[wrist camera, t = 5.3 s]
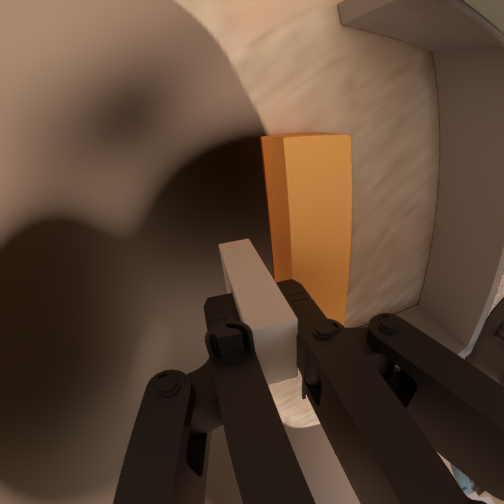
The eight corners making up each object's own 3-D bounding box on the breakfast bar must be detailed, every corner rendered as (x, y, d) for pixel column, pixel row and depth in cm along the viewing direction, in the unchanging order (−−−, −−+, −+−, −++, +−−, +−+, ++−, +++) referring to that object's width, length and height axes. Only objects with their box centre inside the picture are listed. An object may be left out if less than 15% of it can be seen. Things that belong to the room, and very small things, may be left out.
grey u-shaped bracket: (425, 312, 23) (470, 353, 17) (343, 346, 21) (385, 406, 15) (440, 39, 12) (509, 34, 6) (337, 4, 10) (413, -36, 4)
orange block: (319, 309, 19) (342, 341, 16) (276, 320, 19) (294, 355, 16) (315, 132, 14) (350, 134, 11) (260, 136, 14) (283, 137, 10)
